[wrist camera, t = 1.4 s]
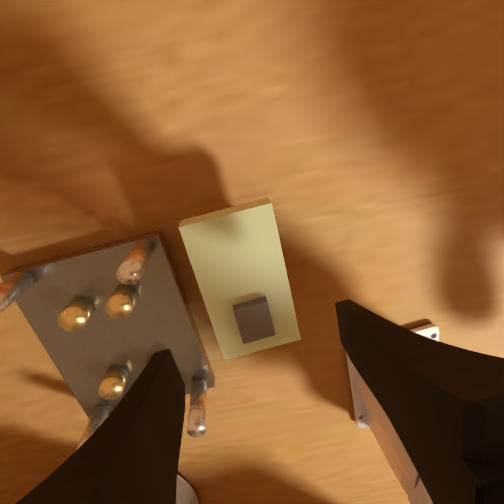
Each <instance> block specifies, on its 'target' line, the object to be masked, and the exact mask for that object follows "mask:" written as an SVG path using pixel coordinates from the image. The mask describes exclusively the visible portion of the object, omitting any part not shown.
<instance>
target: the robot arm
mask: <svg viewBox="0 0 504 504" xmlns="http://www.w3.org/2000/svg"><path fill="white" fill-rule="evenodd" d="M335 306H336V312H337V319H338V326H339V332H340V339H341V343H342V345H343V347H344V349H345V351H346V358H347V365H348V372H349V379H350V386H351V392H352V399H353V406H354V413H355V420H356V424H357V426H358V427H359V428H364V427H368V426H369V427H370V429H371V431H372V433H373V434H374V436H375V438H376V440H377V442H378V444H379V445H380V447H381V449H382V451H383V453H384V455H385V457H386V458H387V460H388V462H389V464H390V466H391V468H392V470H393V471H394V473H395V475H396V477H397V479H398V481H399V482H400V484H401V486H402V488H403V489H404V491H405V492H406V494H407V495H408V499H409V501H410V503H411V504H504V358H500V357H495V356H491V355H486V354H482V353H478V352H473V351H469V350H466V349H462V348H459V347H455V346H452V345H448V344H445V343H442V342H439V328H438V327H437V326H436V325H435V324H429V325H425V326H422V327H418V328H415V329H411V330H408V329H405V328H403V327H401V326H399V325H397V324H394V323H392V322H390V321H388V320H386V319H384V318H382V317H380V316H379V315H377V314H375V313H373V312H371V311H369V310H367V309H366V308H364V307H362V306H360V305H359V304H357V303H355V302H353V301H351V300H349V299H348V300H344V301H341V302H337V303H335ZM184 413H185V384H184V381H183V379H182V377H181V374H180V372H179V369H178V367H177V365H176V362H175V360H174V358H173V355H172V353H171V351H170V348H169V349H165V350H162V351H158V352H155V353H154V355H153V356H152V357H151V359H150V360H149V362H148V363H147V365H146V366H145V368H144V369H143V370H142V372H141V373H140V375H139V376H138V378H137V379H136V380H135V382H134V383H133V385H132V386H131V387H130V389H129V390H128V392H127V393H126V394H125V395H124V397H123V398H122V399H121V401H120V402H119V403H118V404H117V406H116V407H115V408H114V410H113V411H112V412H111V413H110V415H109V416H108V417H107V418H106V419H105V420H104V422H103V423H102V424H101V425H100V426H99V427H98V428H97V429H96V431H95V432H94V433H93V434H92V435H91V436H90V437H89V438H88V439H87V440H86V441H85V442H84V443H83V444H82V445H81V446H80V447H79V448H78V449H77V450H76V451H75V452H74V453H73V454H72V455H71V456H70V457H69V458H68V459H67V460H66V461H65V462H64V463H63V464H62V465H61V466H60V467H58V468H57V469H56V470H55V471H54V472H53V473H52V474H51V475H50V476H48V477H47V478H46V479H45V480H44V481H43V482H41V483H40V484H39V485H38V486H37V487H36V488H34V489H33V490H32V491H31V492H30V493H28V494H27V495H26V496H25V497H23V498H22V499H21V500H20V501H18V502H17V503H16V504H176V488H177V471H178V461H179V453H180V445H181V438H182V430H183V422H184Z"/></svg>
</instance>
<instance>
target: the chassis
mask: <svg viewBox="0 0 504 504" xmlns="http://www.w3.org/2000/svg"><path fill="white" fill-rule="evenodd" d="M1 278H2V279H3V282H2V283H1V284H0V313H1V312H2V311H3V310H4V309H5V308H7V307H8V306H9V305H10V304H11V303H12V302H14V301H15V300H16V302H17V303H18V305H19V307H20V308H21V310H22V311H23V313H24V315H25V316H26V318H27V320H28V321H29V323H30V324H31V326H32V328H33V329H34V331H35V332H36V334H37V336H38V337H39V339H40V340H41V342H42V344H43V345H44V347H45V349H46V350H47V352H48V353H49V355H50V357H51V358H52V360H53V361H54V363H55V365H56V366H57V368H58V369H59V371H60V373H61V374H62V376H63V378H64V379H65V381H66V382H67V384H68V386H69V387H70V389H71V390H72V392H73V394H74V395H75V397H76V399H77V400H78V402H79V403H80V405H81V407H82V408H83V410H84V411H85V413H86V415H87V416H88V418H89V421H88V423H87V425H86V428H85V430H84V432H83V435H82V437H81V439H80V442H79V444H78V446H77V449H78V448H79V447H80V446H81V445H82V444H83V443H84V442H85V441H86V440H87V439H88V438H89V437H90V436H91V435H92V434H93V433H94V432H95V431H96V429H97V428H98V427H99V426H100V425H101V424H102V423H103V422H104V420H105V419H106V418H107V417H108V416H109V415H110V413H111V412H112V411H113V410H114V408H115V407H116V406H117V404H118V403H119V402H120V401H121V399H122V398H123V397H124V395H125V394H126V393H127V392H128V390H129V389H130V387H131V386H132V385H133V383H134V382H135V380H136V379H137V378H138V376H139V375H140V373H141V372H142V370H143V369H144V368H145V366H146V365H147V363H148V362H149V360H150V359H151V357H152V356H153V355H154V353H155V352H158V351H162V350H165V349H169V348H170V351H171V353H172V355H173V358H174V360H175V362H176V365H177V367H178V369H179V372H180V374H181V377H182V379H183V381H184V384H185V395H186V394H189V393H190V405H189V417H188V429H187V432H188V434H189V435H190V436H192V437H200V436H202V435H203V434H204V433H205V432H206V396H207V388H211V387H214V386H215V377H214V374H213V371H212V369H211V366H210V363H209V360H208V358H207V355H206V352H205V350H204V347H203V344H202V341H201V339H200V336H199V333H198V331H197V328H196V325H195V323H194V320H193V317H192V314H191V312H190V309H189V306H188V304H187V301H186V298H185V295H184V293H183V290H182V287H181V285H180V282H179V279H178V277H177V274H176V271H175V268H174V266H173V263H172V260H171V258H170V255H169V252H168V249H167V247H166V244H165V241H164V239H163V236H162V233H161V230H160V231H156V232H152V233H149V234H145V235H141V236H137V237H133V238H130V239H126V240H122V241H118V242H114V243H111V244H107V245H103V246H99V247H95V248H91V249H88V250H84V251H80V252H76V253H72V254H69V255H65V256H61V257H57V258H53V259H50V260H46V261H42V262H38V263H34V264H31V265H27V266H23V267H19V268H15V269H12V270H9V271H8V272H6V273H5V274H4V275H2V276H1ZM77 449H76V450H77Z"/></svg>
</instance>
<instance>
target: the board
mask: <svg viewBox="0 0 504 504" xmlns="http://www.w3.org/2000/svg"><path fill="white" fill-rule="evenodd" d="M178 228H179V231H180V233H181V236H182V239H183V242H184V245H185V248H186V251H187V254H188V257H189V260H190V263H191V265H192V268H193V271H194V274H195V277H196V280H197V283H198V286H199V289H200V292H201V294H202V297H203V300H204V303H205V306H206V309H207V312H208V315H209V318H210V321H211V324H212V326H213V329H214V332H215V335H216V338H217V341H218V344H219V347H220V350H221V353H222V356H223V358H224V361H225V360H229V359H232V358H236V357H240V356H243V355H247V354H250V353H254V352H258V351H261V350H265V349H268V348H272V347H276V346H279V345H283V344H287V343H290V342H294V341H297V340H301V337H300V332H299V328H298V323H297V318H296V314H295V309H294V304H293V300H292V295H291V290H290V285H289V281H288V276H287V271H286V267H285V262H284V257H283V253H282V248H281V243H280V238H279V234H278V229H277V224H276V220H275V215H274V210H273V206H272V202H271V201H270V200H269V199H268V198H264V199H260V200H256V201H253V202H249V203H245V204H241V205H237V206H233V207H230V208H226V209H222V210H218V211H214V212H211V213H207V214H203V215H199V216H195V217H191V218H188V219H184V220H181V221H180V224H179V227H178Z"/></svg>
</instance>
